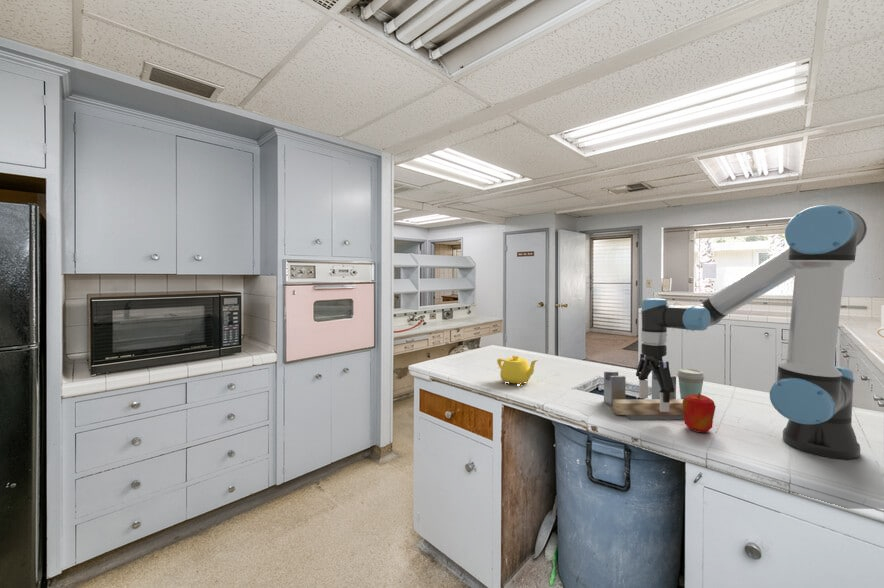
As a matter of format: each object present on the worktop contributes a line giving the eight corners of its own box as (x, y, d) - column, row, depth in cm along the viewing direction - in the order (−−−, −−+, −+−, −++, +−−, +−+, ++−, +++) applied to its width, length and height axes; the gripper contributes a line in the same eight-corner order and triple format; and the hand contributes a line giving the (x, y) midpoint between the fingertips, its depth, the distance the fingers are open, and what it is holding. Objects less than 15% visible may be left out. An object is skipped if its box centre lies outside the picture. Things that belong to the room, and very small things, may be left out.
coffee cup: (708, 407, 135) (709, 374, 134) (682, 405, 136) (683, 373, 136) (697, 399, 143) (698, 368, 142) (673, 398, 145) (673, 367, 144)
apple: (685, 422, 121) (686, 386, 121) (717, 429, 115) (718, 392, 115) (678, 429, 115) (679, 392, 115) (711, 438, 109) (712, 398, 109)
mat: (703, 419, 123) (703, 418, 123) (630, 419, 124) (630, 418, 124) (685, 409, 133) (685, 407, 133) (617, 409, 134) (617, 407, 134)
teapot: (532, 390, 157) (532, 361, 156) (490, 383, 169) (490, 356, 168) (544, 383, 167) (544, 356, 167) (504, 376, 179) (504, 351, 179)
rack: (675, 407, 134) (676, 376, 134) (611, 407, 135) (611, 376, 135) (664, 401, 141) (665, 371, 141) (603, 401, 142) (603, 371, 142)
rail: (687, 410, 130) (687, 399, 130) (695, 414, 126) (695, 403, 126) (612, 410, 131) (612, 399, 131) (617, 414, 127) (617, 403, 127)
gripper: (687, 350, 115) (687, 417, 115) (646, 337, 139) (646, 393, 140) (662, 350, 115) (662, 417, 116) (626, 337, 140) (625, 393, 141)
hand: (653, 404), depth 128 cm, fingers open, 13 cm apart
